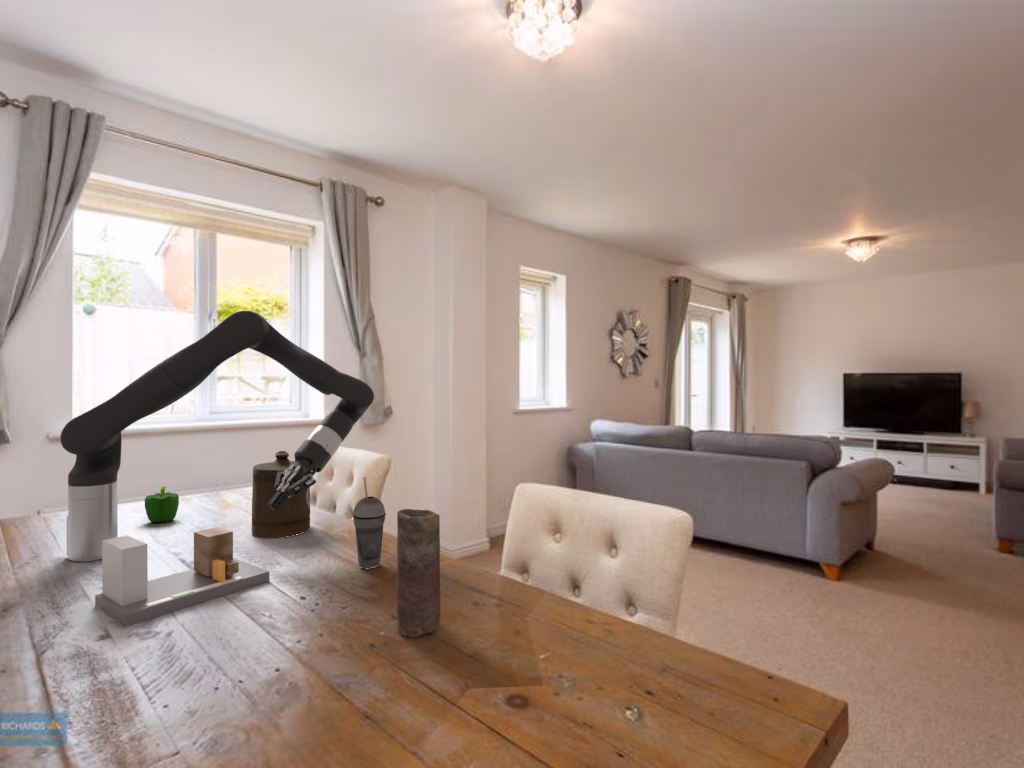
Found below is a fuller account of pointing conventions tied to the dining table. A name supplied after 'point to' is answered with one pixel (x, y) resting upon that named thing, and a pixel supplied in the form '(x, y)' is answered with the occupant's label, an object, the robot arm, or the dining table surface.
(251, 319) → the robot arm
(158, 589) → the gauge base
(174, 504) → the bell pepper
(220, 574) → the pointer
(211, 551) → the brown block
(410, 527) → the rough stone vase
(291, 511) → the wooden container
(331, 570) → the dining table surface
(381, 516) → the beverage cup
